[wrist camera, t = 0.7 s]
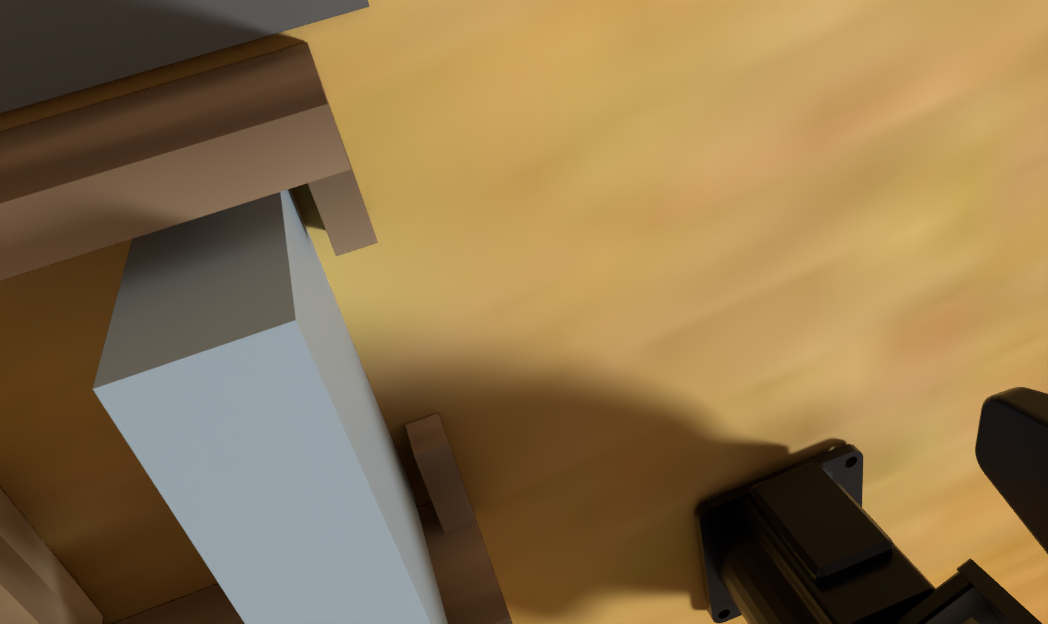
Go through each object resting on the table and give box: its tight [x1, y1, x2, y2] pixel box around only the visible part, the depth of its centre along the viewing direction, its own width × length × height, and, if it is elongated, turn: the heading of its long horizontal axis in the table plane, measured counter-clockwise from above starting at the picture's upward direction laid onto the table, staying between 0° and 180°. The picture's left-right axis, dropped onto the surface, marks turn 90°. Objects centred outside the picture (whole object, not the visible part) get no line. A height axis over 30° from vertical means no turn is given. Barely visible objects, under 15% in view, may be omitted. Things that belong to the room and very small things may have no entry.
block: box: [93, 189, 448, 624], centre depth 18 cm, size 11×3×8 cm, turn 12°
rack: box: [0, 42, 512, 624], centre depth 18 cm, size 15×19×5 cm
